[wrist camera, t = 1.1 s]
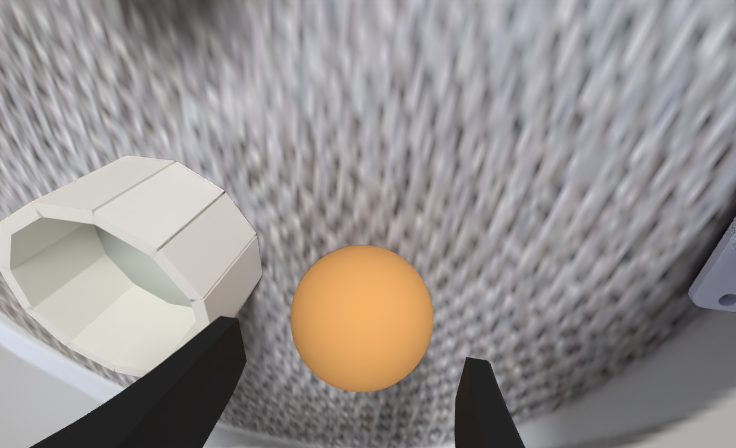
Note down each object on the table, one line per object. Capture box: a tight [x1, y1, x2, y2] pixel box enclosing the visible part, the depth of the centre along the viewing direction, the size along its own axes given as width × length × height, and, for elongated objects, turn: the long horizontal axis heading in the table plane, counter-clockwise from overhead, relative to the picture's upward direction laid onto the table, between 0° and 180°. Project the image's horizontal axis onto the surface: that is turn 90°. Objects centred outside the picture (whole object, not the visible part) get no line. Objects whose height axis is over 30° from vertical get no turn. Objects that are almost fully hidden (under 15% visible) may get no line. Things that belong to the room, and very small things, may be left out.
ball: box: [291, 245, 433, 392], centre depth 13 cm, size 5×5×5 cm
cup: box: [0, 155, 263, 377], centre depth 15 cm, size 8×8×4 cm
